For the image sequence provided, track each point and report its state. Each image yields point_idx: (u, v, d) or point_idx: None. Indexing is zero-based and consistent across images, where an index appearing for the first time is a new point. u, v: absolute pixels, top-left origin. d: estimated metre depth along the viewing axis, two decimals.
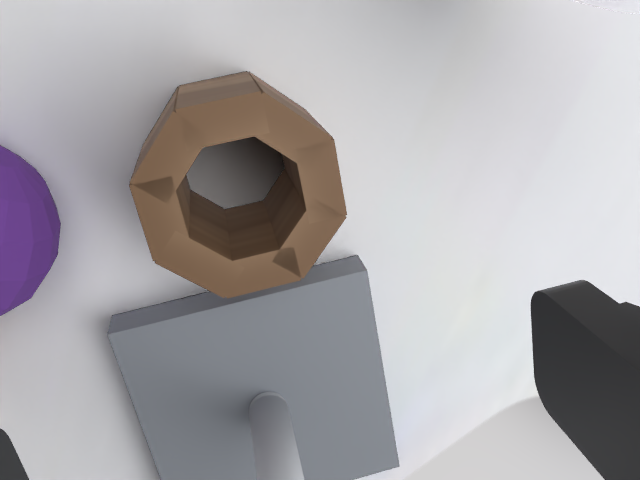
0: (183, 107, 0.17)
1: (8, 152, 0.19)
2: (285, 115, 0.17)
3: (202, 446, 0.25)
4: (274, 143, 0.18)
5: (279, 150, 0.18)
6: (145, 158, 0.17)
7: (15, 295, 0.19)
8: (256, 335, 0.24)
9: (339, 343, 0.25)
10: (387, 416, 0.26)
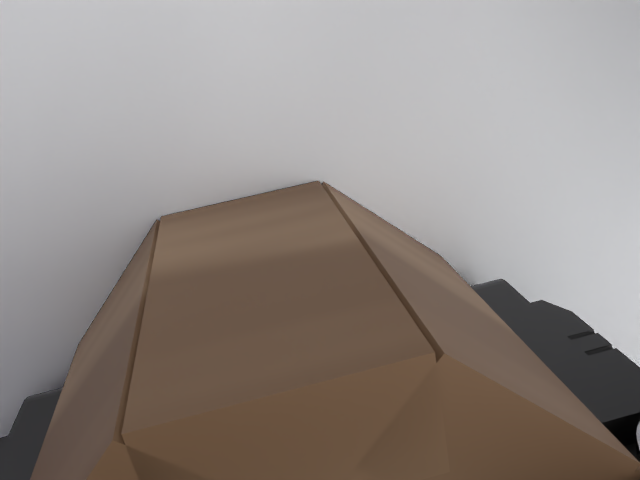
0: (151, 420, 0.05)
1: None
2: (508, 418, 0.05)
3: None
4: None
5: None
6: None
7: None
8: None
9: None
10: None
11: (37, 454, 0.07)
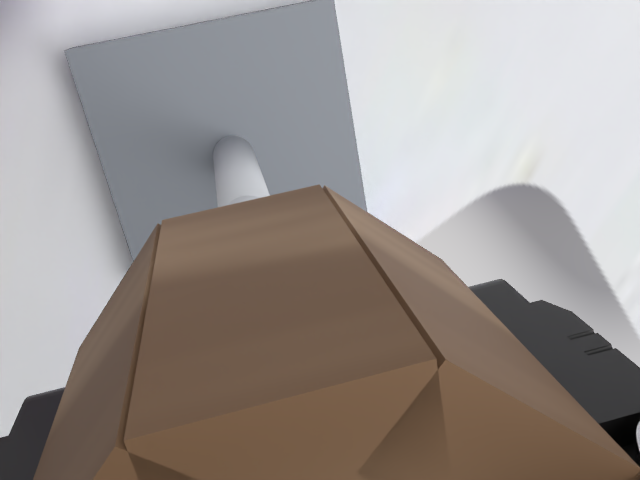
0: (154, 427, 0.05)
1: None
2: (509, 423, 0.05)
3: (166, 195, 0.25)
4: None
5: None
6: None
7: None
8: (219, 66, 0.23)
9: (306, 83, 0.24)
10: (357, 177, 0.26)
11: (37, 454, 0.07)
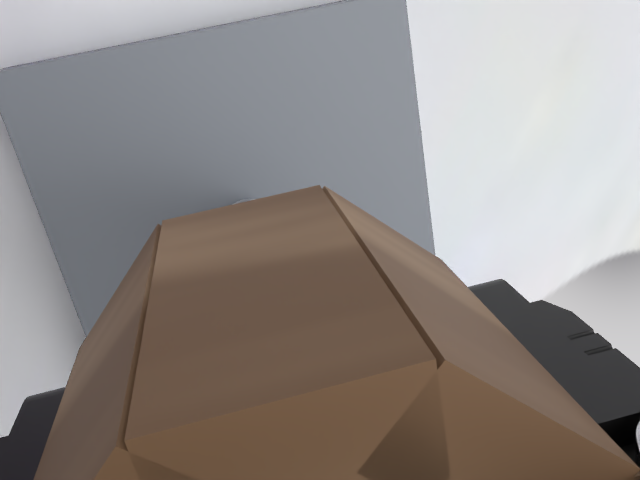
0: (153, 426, 0.05)
1: None
2: (508, 423, 0.05)
3: None
4: None
5: None
6: None
7: None
8: (229, 96, 0.15)
9: (360, 121, 0.16)
10: None
11: (37, 454, 0.07)
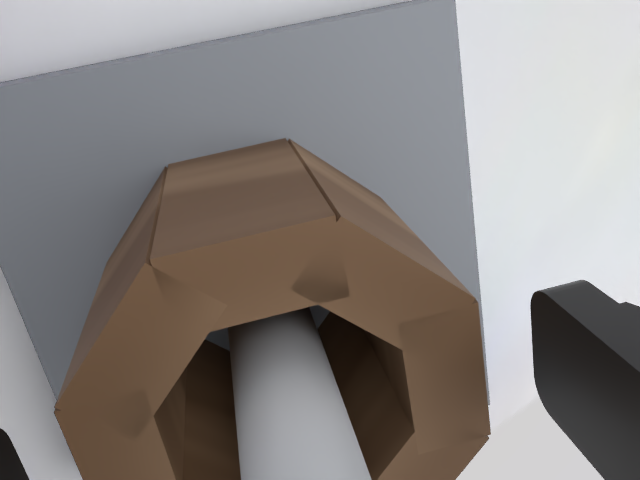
0: (167, 253, 0.08)
1: None
2: (384, 260, 0.08)
3: None
4: (359, 315, 0.09)
5: (368, 328, 0.09)
6: (87, 358, 0.08)
7: None
8: (237, 126, 0.12)
9: (396, 154, 0.13)
10: None
11: None
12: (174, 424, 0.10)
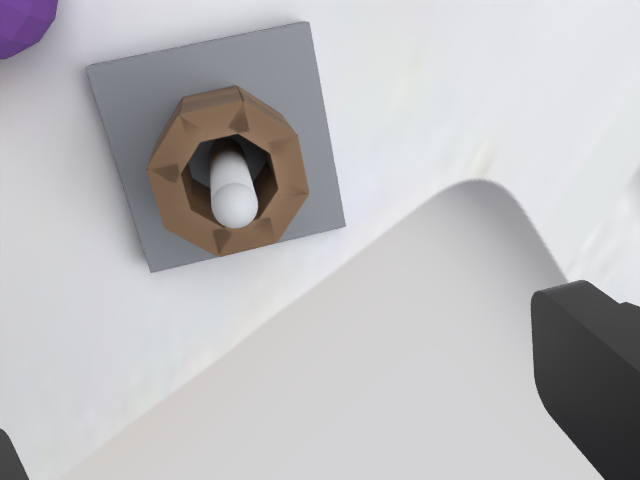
0: (185, 112, 0.23)
1: None
2: (261, 117, 0.24)
3: None
4: (253, 138, 0.24)
5: (257, 144, 0.24)
6: (158, 150, 0.23)
7: (19, 27, 0.23)
8: (213, 79, 0.28)
9: (287, 94, 0.28)
10: (333, 173, 0.30)
11: None
12: (187, 190, 0.25)
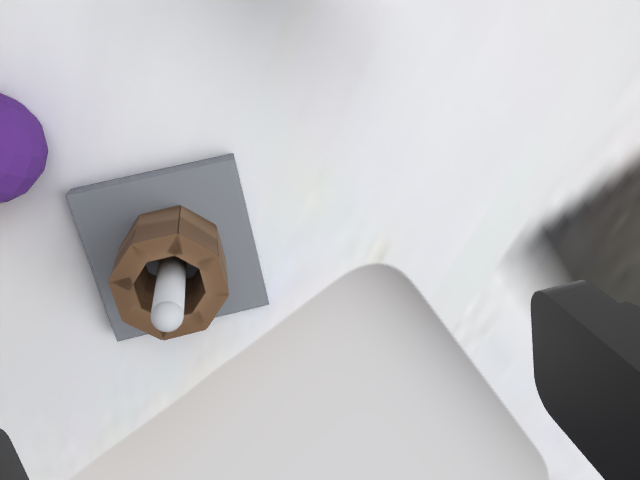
0: (136, 242, 0.32)
1: (22, 105, 0.33)
2: (191, 244, 0.33)
3: None
4: (185, 258, 0.33)
5: (188, 262, 0.33)
6: (116, 268, 0.33)
7: (18, 186, 0.32)
8: (163, 201, 0.37)
9: (219, 209, 0.38)
10: (257, 265, 0.39)
11: None
12: (139, 291, 0.34)
